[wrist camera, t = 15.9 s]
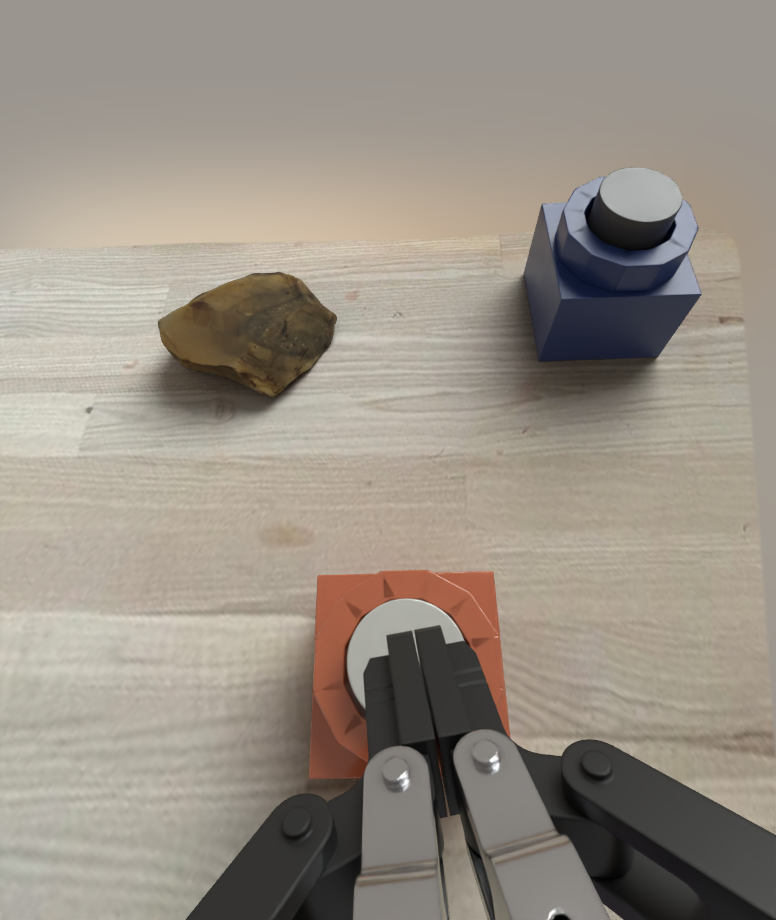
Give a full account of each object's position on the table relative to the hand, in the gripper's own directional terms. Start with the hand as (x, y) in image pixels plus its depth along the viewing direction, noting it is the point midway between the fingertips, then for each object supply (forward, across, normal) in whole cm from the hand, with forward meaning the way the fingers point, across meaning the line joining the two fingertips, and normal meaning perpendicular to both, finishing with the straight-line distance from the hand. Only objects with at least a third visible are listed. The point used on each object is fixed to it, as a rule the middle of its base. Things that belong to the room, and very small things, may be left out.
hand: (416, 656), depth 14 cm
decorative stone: (+27, +7, -6) cm, 29 cm away
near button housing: (+26, -17, -5) cm, 31 cm away
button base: (+11, 0, +10) cm, 15 cm away
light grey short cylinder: (+5, 0, +5) cm, 7 cm away
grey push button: (+20, -17, -10) cm, 28 cm away
